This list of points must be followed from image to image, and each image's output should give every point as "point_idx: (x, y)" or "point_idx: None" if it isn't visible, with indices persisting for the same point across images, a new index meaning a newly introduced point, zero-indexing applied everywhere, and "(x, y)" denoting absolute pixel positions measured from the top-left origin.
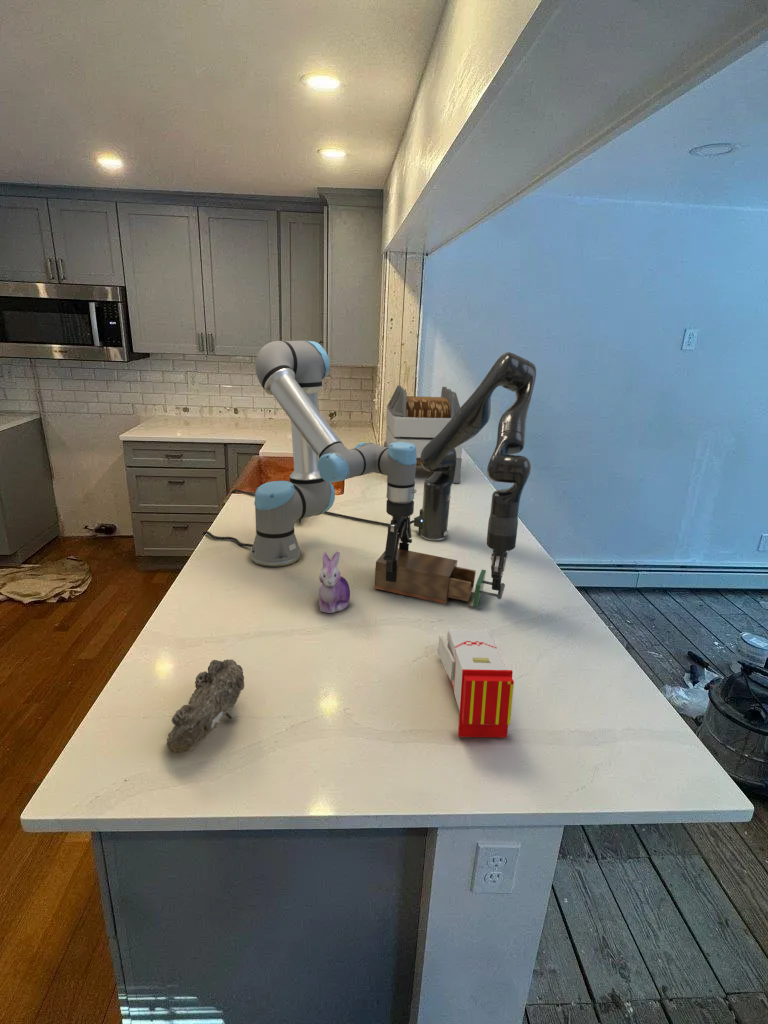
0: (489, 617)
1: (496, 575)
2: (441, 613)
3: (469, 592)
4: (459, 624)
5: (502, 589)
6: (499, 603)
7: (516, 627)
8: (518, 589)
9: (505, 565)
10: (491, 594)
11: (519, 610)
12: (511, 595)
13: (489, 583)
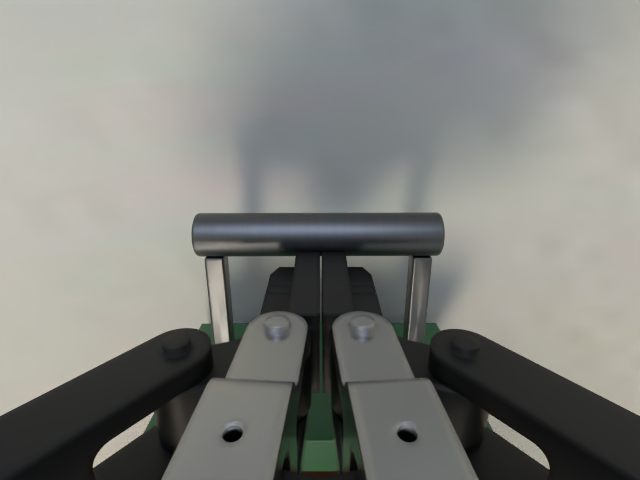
0: (517, 234)
1: (483, 415)
2: (529, 451)
3: None
4: (628, 365)
5: (322, 229)
6: (309, 200)
7: (620, 42)
8: (18, 91)
9: (208, 391)
10: (426, 297)
11: (358, 46)
12: (149, 133)
13: (233, 335)
